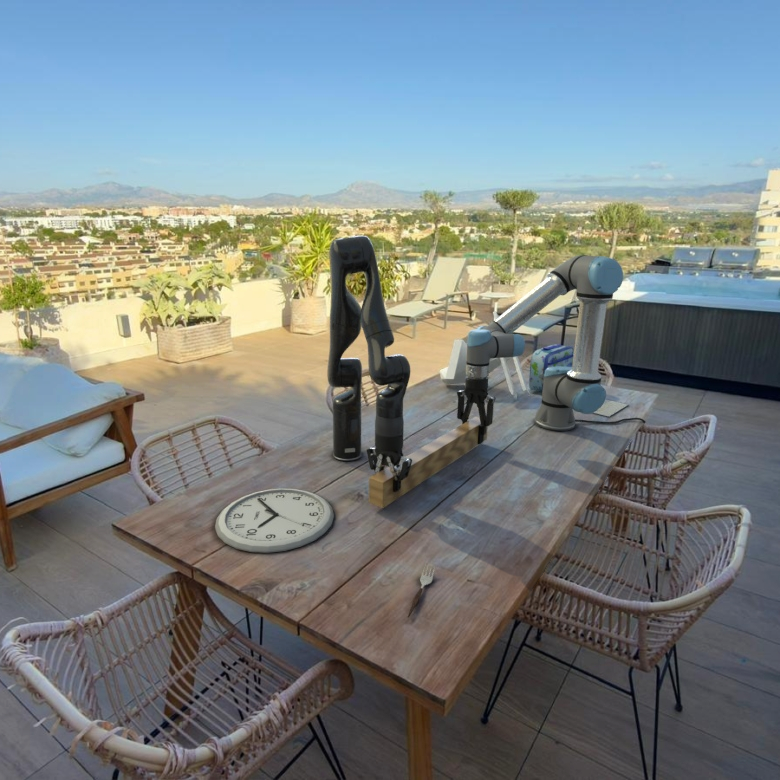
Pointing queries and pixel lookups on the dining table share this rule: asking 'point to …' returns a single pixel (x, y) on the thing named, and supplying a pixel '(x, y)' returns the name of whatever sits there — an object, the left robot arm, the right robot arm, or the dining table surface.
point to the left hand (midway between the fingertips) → (388, 487)
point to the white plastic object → (458, 367)
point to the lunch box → (548, 363)
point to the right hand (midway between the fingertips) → (473, 440)
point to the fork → (424, 581)
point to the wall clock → (274, 520)
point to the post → (425, 462)
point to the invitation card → (610, 408)
